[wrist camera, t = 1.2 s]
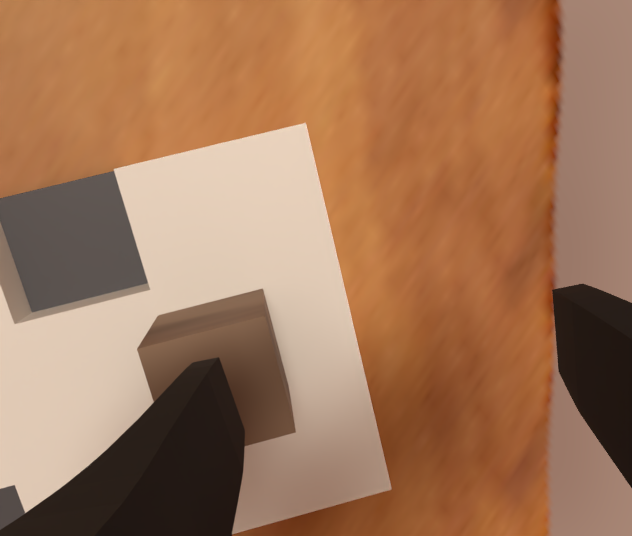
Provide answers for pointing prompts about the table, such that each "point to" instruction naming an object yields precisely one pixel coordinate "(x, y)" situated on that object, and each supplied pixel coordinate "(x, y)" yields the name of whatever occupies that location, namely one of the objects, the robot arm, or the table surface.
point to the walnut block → (226, 358)
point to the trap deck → (171, 295)
